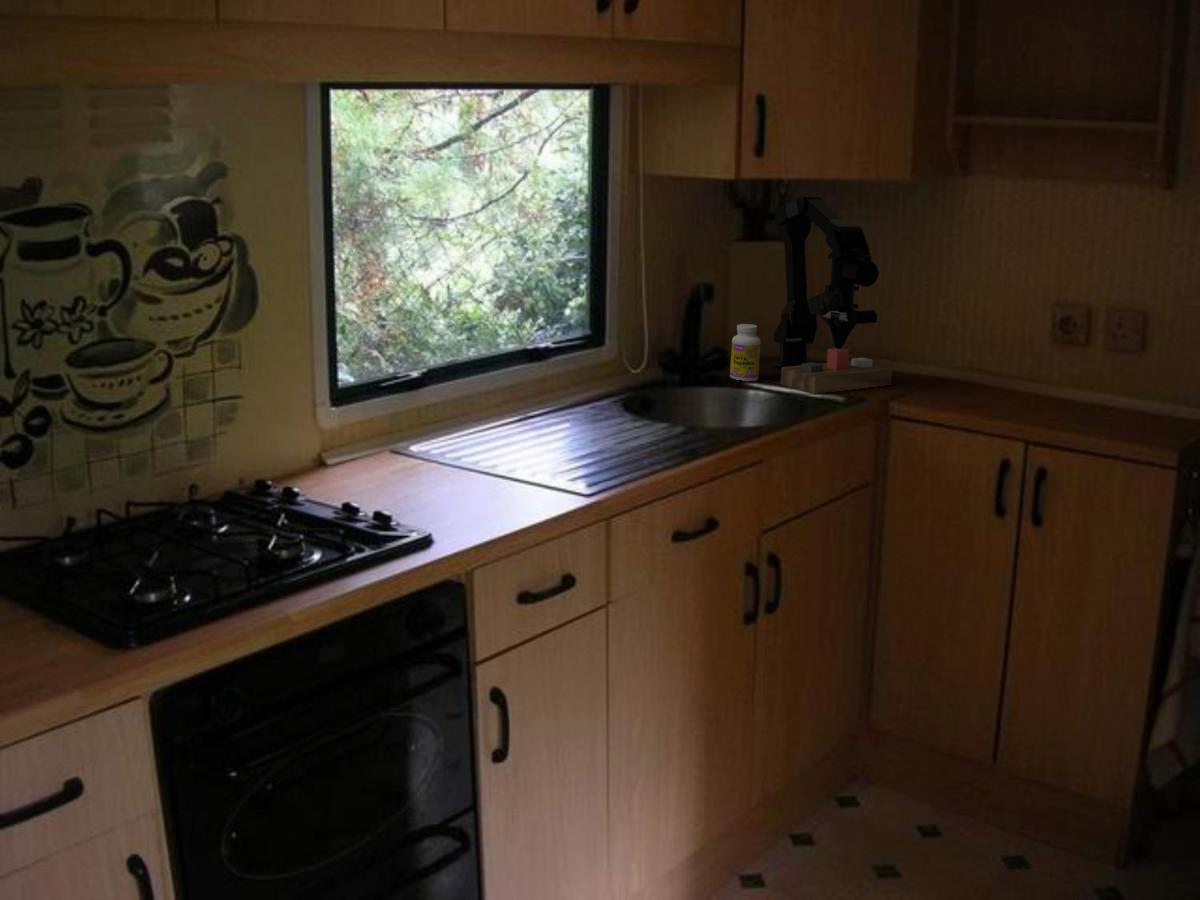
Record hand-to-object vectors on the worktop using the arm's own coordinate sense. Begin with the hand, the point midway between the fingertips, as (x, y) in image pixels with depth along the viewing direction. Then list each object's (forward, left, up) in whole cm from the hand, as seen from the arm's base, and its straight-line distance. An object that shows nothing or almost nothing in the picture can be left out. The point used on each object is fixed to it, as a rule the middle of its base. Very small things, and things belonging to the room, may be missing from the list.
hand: (838, 348), depth 314 cm
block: (0, 0, -8) cm, 8 cm away
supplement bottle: (-14, -16, -9) cm, 23 cm away
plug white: (0, +8, -8) cm, 11 cm away
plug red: (0, 0, -5) cm, 5 cm away
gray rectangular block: (0, -7, -8) cm, 11 cm away
